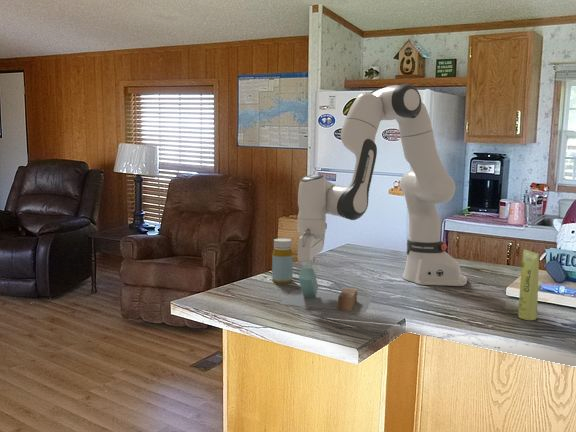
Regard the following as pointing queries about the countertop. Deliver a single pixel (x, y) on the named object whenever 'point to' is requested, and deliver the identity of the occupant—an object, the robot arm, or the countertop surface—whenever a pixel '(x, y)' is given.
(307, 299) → the mat
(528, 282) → the tube
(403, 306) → the countertop surface
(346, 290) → the walnut block
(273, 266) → the bottle
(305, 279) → the teal block
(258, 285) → the countertop surface
